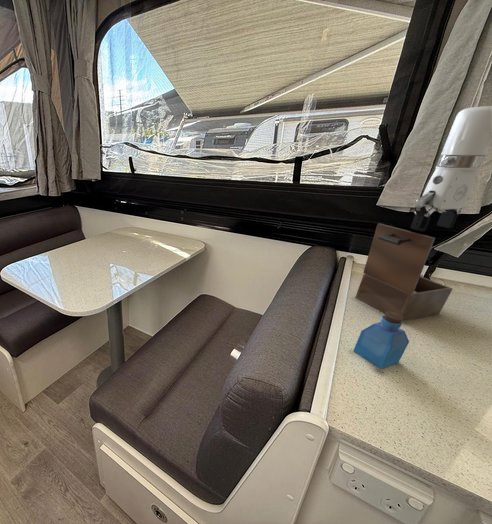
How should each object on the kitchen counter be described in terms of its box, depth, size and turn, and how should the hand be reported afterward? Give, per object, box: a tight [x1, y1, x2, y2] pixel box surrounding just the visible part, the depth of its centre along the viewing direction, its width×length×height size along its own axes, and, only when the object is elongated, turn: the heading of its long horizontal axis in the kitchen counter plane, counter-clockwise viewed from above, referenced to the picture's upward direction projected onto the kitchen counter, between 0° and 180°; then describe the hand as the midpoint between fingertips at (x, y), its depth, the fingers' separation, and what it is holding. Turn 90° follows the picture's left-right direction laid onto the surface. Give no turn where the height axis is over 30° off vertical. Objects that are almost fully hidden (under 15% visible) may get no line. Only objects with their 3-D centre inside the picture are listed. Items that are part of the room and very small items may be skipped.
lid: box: [362, 222, 436, 294], centre depth 76 cm, size 16×14×5 cm
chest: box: [354, 273, 453, 322], centre depth 83 cm, size 16×14×9 cm
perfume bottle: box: [353, 311, 410, 370], centre depth 62 cm, size 6×6×12 cm
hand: (430, 228), depth 74 cm, fingers open, 9 cm apart
